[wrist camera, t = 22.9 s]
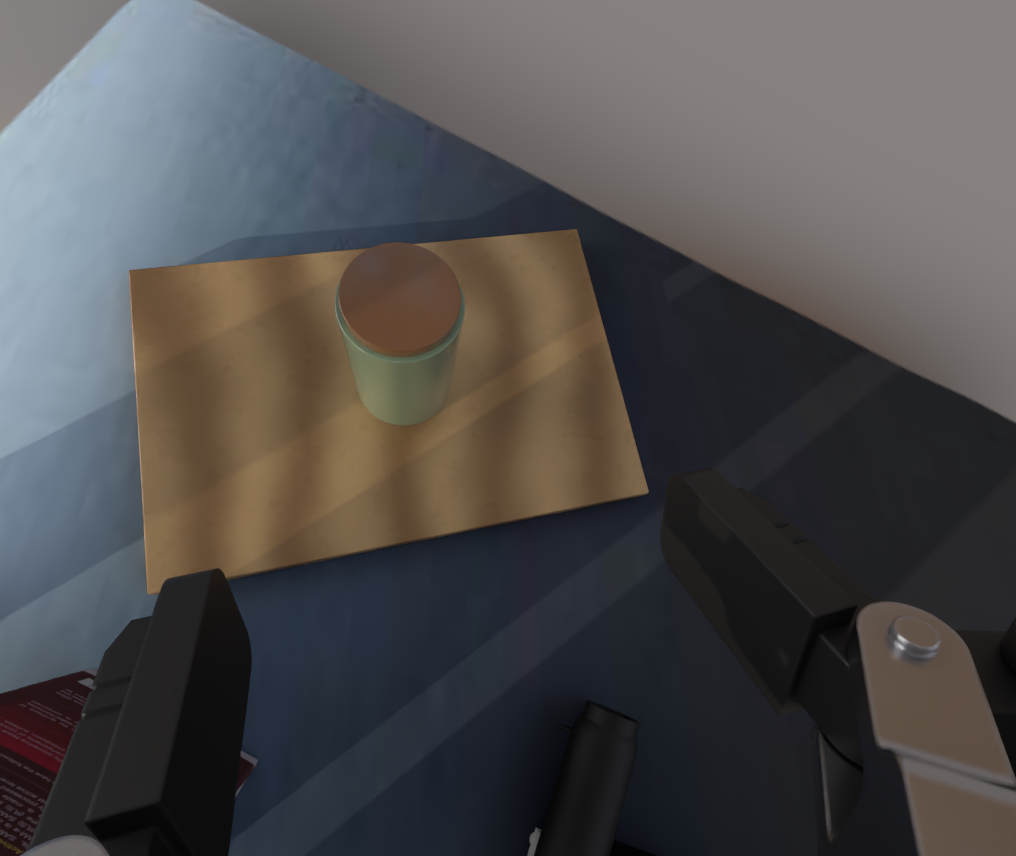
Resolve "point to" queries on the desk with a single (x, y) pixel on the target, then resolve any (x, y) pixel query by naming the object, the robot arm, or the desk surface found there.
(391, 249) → the salt pot
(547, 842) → the door handle
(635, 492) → the oak board
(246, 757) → the supplement box
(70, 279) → the desk surface
